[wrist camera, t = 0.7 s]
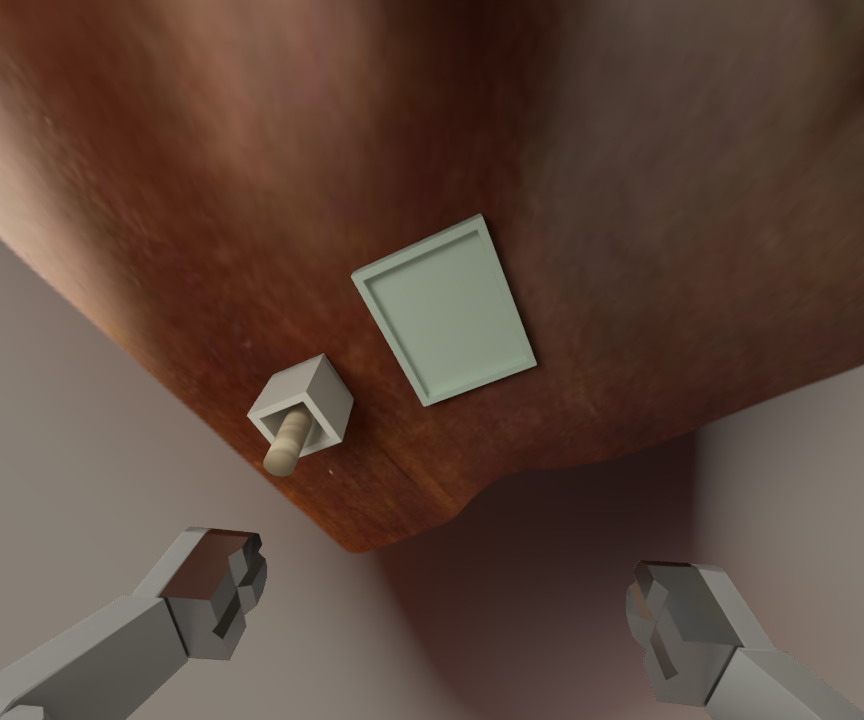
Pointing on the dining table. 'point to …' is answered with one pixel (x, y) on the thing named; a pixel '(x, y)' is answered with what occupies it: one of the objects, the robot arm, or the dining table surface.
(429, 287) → the tray
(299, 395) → the cup
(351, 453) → the dining table surface
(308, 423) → the dowel
